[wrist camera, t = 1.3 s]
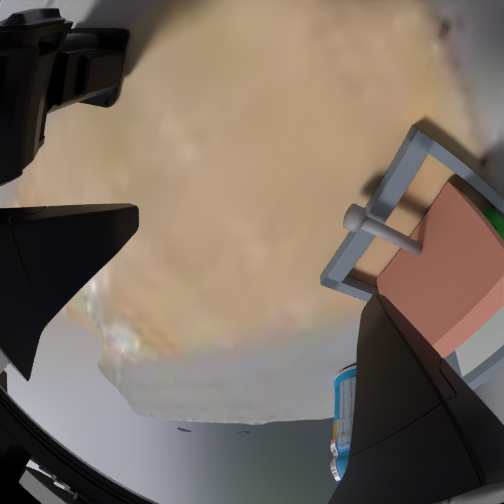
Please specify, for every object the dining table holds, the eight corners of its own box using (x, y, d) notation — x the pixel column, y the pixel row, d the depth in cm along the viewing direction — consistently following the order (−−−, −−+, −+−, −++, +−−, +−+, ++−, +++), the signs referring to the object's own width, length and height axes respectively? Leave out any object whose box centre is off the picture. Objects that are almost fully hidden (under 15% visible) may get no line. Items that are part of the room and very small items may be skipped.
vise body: (320, 275, 25) (320, 375, 17) (411, 125, 16) (490, 187, 8) (444, 321, 26) (463, 397, 18) (527, 225, 17) (577, 296, 9)
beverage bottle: (366, 354, 31) (367, 511, 16) (401, 371, 33) (408, 503, 18) (320, 377, 36) (309, 512, 21) (358, 392, 38) (354, 510, 23)
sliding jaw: (313, 255, 23) (312, 356, 16) (381, 138, 16) (439, 207, 9) (395, 288, 24) (415, 379, 16) (466, 195, 17) (529, 277, 10)
